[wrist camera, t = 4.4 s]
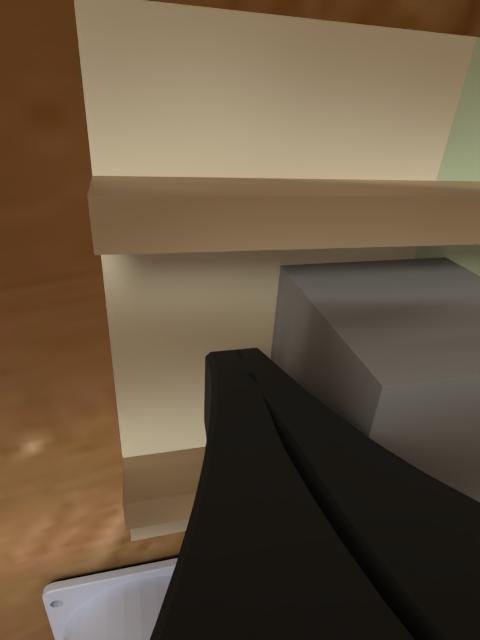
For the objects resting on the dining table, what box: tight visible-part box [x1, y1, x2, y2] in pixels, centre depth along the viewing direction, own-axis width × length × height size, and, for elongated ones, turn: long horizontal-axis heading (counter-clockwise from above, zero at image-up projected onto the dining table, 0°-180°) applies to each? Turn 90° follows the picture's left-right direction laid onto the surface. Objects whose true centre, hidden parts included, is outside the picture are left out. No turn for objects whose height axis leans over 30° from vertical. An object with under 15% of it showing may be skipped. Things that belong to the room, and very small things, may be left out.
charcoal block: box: [271, 257, 480, 502], centre depth 10 cm, size 4×4×4 cm
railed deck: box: [74, 0, 480, 541], centre depth 13 cm, size 14×22×4 cm, turn 86°
